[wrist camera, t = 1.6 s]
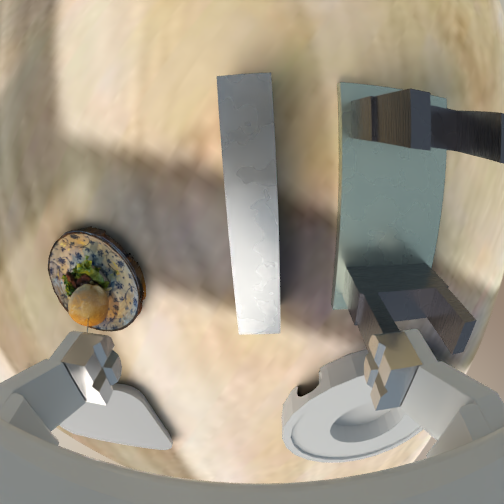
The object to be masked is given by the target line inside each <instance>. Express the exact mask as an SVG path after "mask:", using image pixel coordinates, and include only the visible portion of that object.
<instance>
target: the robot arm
mask: <svg viewBox="0 0 504 504" xmlns="http://www.w3.org/2000/svg"><path fill="white" fill-rule="evenodd" d="M113 348H114V343H113V341H112V338H111V337H109V336H107V335H100V334H93V333H86V332H78V331H72V332H70V333H69V334H68V335H67V336H66V338H65V339H64V340H63V341H62V343H61V344H60V345H59V347H58V348H57V349H56V351H55V352H54V353H53V355H52V356H51V357H50V359H45V360H43V361H41V362H39V363H37V364H35V365H33V366H31V367H30V368H28V369H26V370H24V371H22V372H20V373H18V374H16V375H15V376H13V377H11V378H9V379H7V380H5V381H3V382H2V383H0V504H504V403H503V401H502V400H501V398H500V397H499V395H498V393H497V392H496V391H494V390H492V389H490V388H488V387H487V386H485V385H483V384H481V383H480V382H478V381H476V380H474V379H472V378H471V377H469V376H467V375H465V374H464V373H462V372H460V371H458V370H457V369H455V368H453V367H451V366H450V365H448V364H446V363H444V362H443V361H440V362H438V361H437V359H436V358H435V356H434V354H433V353H432V351H431V349H430V348H429V346H428V345H427V343H426V341H425V340H424V338H423V337H422V335H421V333H420V332H419V330H417V329H410V330H404V331H399V332H392V333H384V334H375V335H372V336H371V338H370V341H369V348H370V350H371V351H370V352H369V353H368V354H367V355H366V357H365V362H364V376H365V380H366V383H367V385H369V386H370V387H371V388H372V391H371V394H370V396H371V399H372V402H373V405H374V408H375V411H378V410H384V409H390V408H396V407H400V408H401V409H402V410H403V411H404V412H405V413H406V414H407V415H409V416H410V417H411V418H412V419H413V420H414V421H415V422H416V423H418V424H419V425H420V426H421V427H422V428H423V429H424V430H425V431H427V432H428V433H429V434H430V435H431V436H432V437H433V438H434V439H436V440H437V441H436V443H435V444H434V445H433V447H432V448H431V449H430V450H429V452H428V453H427V455H426V456H427V459H423V460H420V461H416V462H413V463H409V464H406V465H402V466H398V467H394V468H390V469H386V470H381V471H377V472H372V473H367V474H362V475H356V476H350V477H344V478H337V479H329V480H320V481H310V482H296V483H272V484H250V483H225V482H212V481H202V480H193V479H185V478H178V477H171V476H165V475H160V474H154V473H149V472H144V471H140V470H135V469H131V468H127V467H123V466H119V465H115V464H112V463H108V462H104V461H101V460H97V459H94V458H91V457H88V456H85V455H82V454H79V453H76V452H73V451H71V450H68V449H66V448H63V447H60V446H58V444H59V442H58V439H57V438H56V437H55V436H54V435H53V434H52V433H51V431H52V430H53V429H54V428H56V427H57V426H58V425H59V424H61V423H62V422H63V421H64V420H66V419H67V418H68V417H69V416H70V415H72V414H73V413H74V412H75V411H77V410H78V409H79V408H80V407H81V406H83V405H84V404H85V403H86V402H91V403H96V404H101V405H107V403H108V401H109V399H110V397H111V395H112V393H113V388H112V385H114V384H115V383H117V382H118V380H119V378H120V376H121V370H122V365H121V360H120V358H119V355H118V354H117V353H116V352H114V351H113Z"/></svg>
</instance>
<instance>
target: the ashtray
mask: <svg viewBox="0 0 504 504" xmlns="http://www.w3.org/2000/svg"><path fill="white" fill-rule="evenodd" d="M367 354H368V350H363V351H359V352H355V353H352V354H349V355H347V356H344V357H342V358H340V359H338V360H335V361H333V362H331V363H328V364H326V365H324V366H323V367H321V368H320V371H319V385H318V386H317V387H316V388H315V389H314V390H313V391H312V392H310V393H308V394H306V395H305V396H302V397H300V396H298V391H297V389H298V387H297V386H296V387H295V388H294V389H293V390H292V391H291V392H290V394H289V396H288V397H287V399H286V401H285V402H284V404H283V410H282V439H283V441H284V443H285V445H286V448H288V449H289V450H290V451H291V452H292V453H294V454H295V455H297V456H299V457H302V458H305V459H307V460H312V461H318V462H347V461H354V460H360V459H364V458H367V457H371V456H375V455H378V454H380V453H383V452H385V451H388V450H390V449H393V448H395V447H397V446H398V445H400V444H402V443H404V442H406V441H407V440H409V439H411V438H412V437H413V436H415V435H416V434H418V433H419V432H420V431H422V430H423V428H422V427H421V426H420V425H419V424H418V423H416V422H415V421H414V420H413V419H412V418H411V417H410V416H409V415H407V414H406V413H405V412H404V411H403V410H402V409H401V408H400V407H396V408H390V409H384V410H378V411H375V408H374V405H373V402H372V399H371V396H370V394H371V391H372V388H371V387H370V386H369V385H367V383H366V380H365V376H364V362H365V357H366V355H367Z"/></svg>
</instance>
